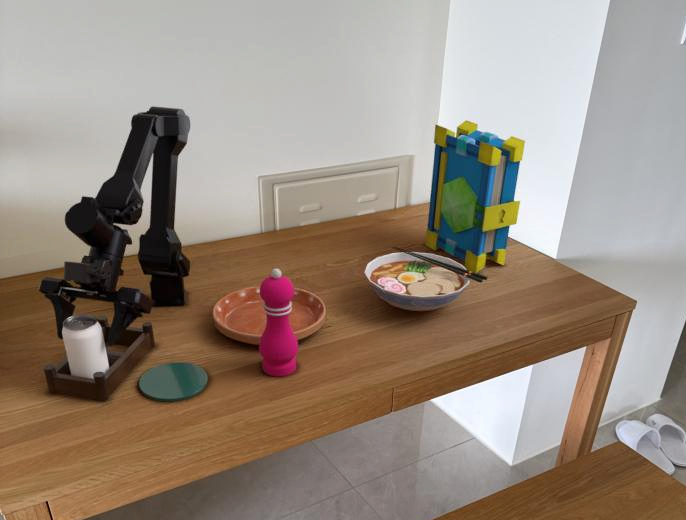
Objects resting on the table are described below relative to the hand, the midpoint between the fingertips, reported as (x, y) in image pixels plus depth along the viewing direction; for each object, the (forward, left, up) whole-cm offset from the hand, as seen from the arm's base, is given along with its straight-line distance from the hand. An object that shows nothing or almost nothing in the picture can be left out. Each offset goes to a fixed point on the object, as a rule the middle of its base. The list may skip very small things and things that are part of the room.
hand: (84, 342), depth 124 cm
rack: (-1, -4, -8) cm, 9 cm away
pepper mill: (-33, -1, -8) cm, 34 cm away
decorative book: (-82, -51, -8) cm, 97 cm away
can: (0, 0, -8) cm, 8 cm away
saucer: (-32, -18, -8) cm, 38 cm away
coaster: (-14, +2, -8) cm, 17 cm away
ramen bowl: (-64, -25, -8) cm, 70 cm away
